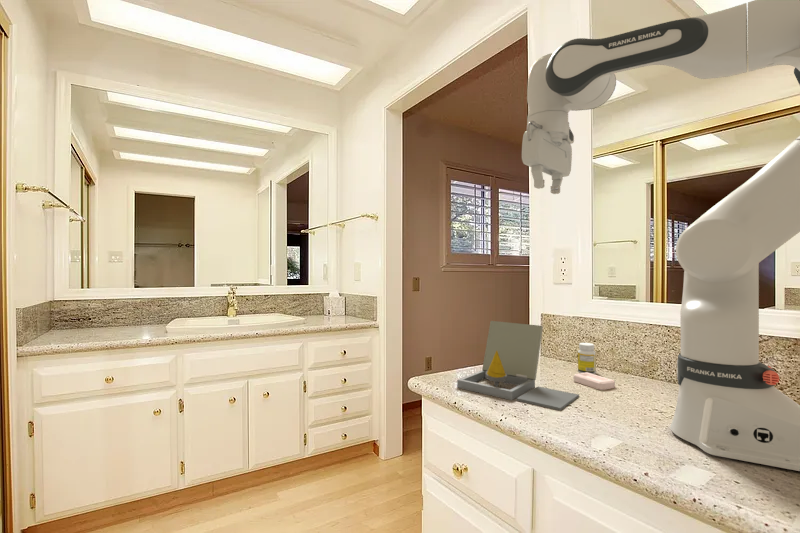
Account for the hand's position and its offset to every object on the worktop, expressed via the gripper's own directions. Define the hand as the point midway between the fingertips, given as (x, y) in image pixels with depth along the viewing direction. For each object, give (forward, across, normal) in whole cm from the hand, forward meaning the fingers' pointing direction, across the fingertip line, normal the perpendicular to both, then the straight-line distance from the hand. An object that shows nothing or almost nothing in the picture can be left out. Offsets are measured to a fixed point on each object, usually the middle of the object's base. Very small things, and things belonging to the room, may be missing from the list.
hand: (547, 190), depth 93 cm
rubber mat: (+48, +2, +1) cm, 48 cm away
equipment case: (+48, +2, +14) cm, 50 cm away
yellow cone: (+48, +2, +14) cm, 51 cm away
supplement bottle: (+49, +32, +1) cm, 58 cm away
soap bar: (+49, +21, -4) cm, 53 cm away
